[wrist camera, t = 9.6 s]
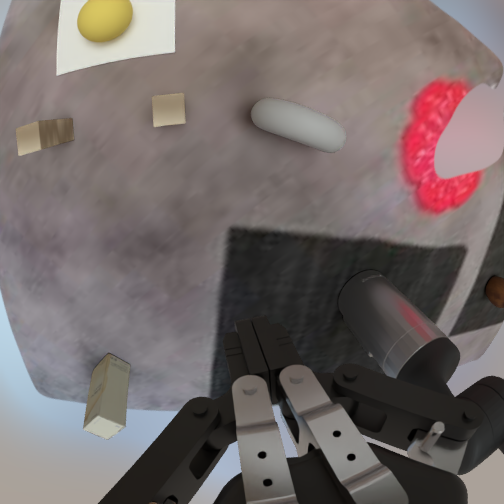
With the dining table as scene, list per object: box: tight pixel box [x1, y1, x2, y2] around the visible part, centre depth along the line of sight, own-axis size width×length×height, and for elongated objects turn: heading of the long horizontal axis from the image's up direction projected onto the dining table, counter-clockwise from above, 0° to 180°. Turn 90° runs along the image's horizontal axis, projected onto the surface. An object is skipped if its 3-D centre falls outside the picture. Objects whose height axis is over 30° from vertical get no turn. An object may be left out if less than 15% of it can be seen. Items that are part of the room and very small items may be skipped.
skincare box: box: [83, 353, 130, 440], centre depth 37 cm, size 6×4×12 cm
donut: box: [251, 98, 346, 153], centre depth 28 cm, size 10×4×10 cm, turn 72°
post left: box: [16, 118, 74, 156], centre depth 23 cm, size 3×3×9 cm
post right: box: [152, 93, 185, 127], centre depth 25 cm, size 3×3×9 cm
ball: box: [77, 0, 133, 42], centre depth 20 cm, size 6×6×6 cm
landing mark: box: [57, 0, 175, 76], centre depth 22 cm, size 14×14×1 cm
